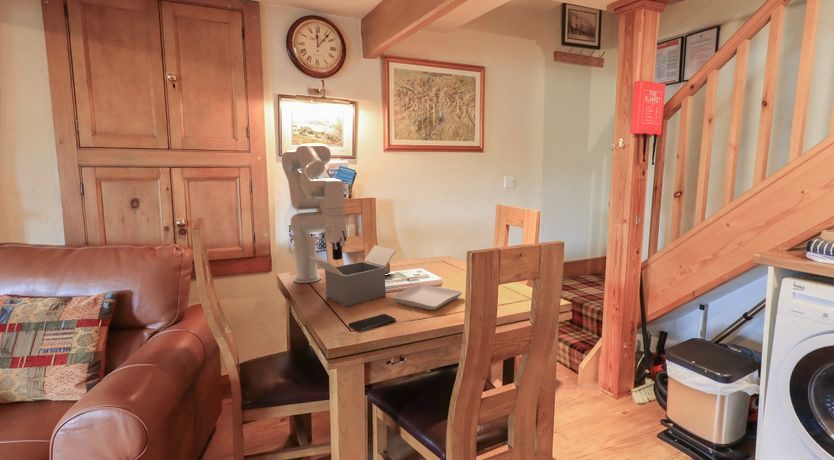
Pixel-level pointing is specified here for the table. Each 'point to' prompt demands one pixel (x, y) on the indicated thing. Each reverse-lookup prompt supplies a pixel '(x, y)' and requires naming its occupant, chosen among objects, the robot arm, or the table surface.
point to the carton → (356, 283)
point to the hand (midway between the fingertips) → (337, 259)
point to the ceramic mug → (387, 268)
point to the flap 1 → (326, 265)
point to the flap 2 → (380, 255)
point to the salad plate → (425, 296)
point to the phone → (372, 322)
